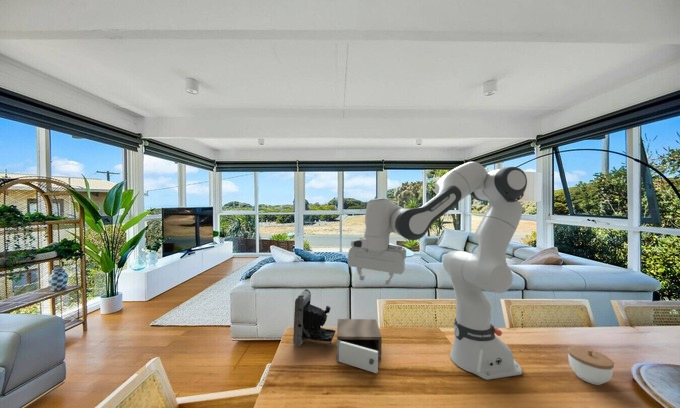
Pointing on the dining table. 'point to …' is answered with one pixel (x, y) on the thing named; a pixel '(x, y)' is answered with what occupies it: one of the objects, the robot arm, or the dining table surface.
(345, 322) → the case
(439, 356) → the dining table surface
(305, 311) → the vintage camera
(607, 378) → the lidded jar
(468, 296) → the robot arm
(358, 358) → the door
